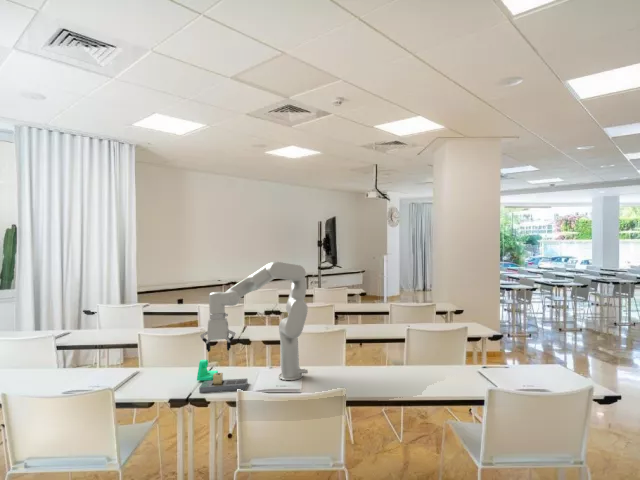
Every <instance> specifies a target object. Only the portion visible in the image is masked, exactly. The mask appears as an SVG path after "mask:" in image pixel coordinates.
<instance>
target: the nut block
mask: <svg viewBox="0 0 640 480" xmlns="http://www.w3.org/2000/svg"><path fill="white" fill-rule="evenodd" d="M223 380H224V375H223V372H218V373H214V375H213V385H223Z"/></svg>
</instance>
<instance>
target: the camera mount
mask: <svg viewBox="0 0 640 480" xmlns="http://www.w3.org/2000/svg"><path fill="white" fill-rule="evenodd" d="M208 360H209V359H200V360H199V363H198V369H197V376H196V381H212V380H213V375H214V373H219V371H218V370H208V366H209V361H208Z"/></svg>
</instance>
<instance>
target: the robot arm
mask: <svg viewBox="0 0 640 480" xmlns="http://www.w3.org/2000/svg"><path fill="white" fill-rule="evenodd" d="M306 273H307V272H306V270H305V267H303V266H302V265H300V264H294V263H289V262H288V263H287V262H281V261H276V260H275V261H271V262H269V263H267V264H265V265H264V266H262V267H261V268H259V269H258V270H256V271H255V272H253V273H252V274H250V275H248V276H247V277H245V278H244V279H243V280H241V281H239V282H238V283H236V284H235V285H233V286H232V287H230V288H229V289H227V290H226V291H225V292H223V291H212V292H210V293H209V294H208V305H209V306H208V307H209V319H208V321H207V331H205V332H203V333H202V334H201V335H200V338H201V339H202V341H203V342H204V343H205V346H206V347H205V349H206V350H207V353H210V352H211V343H210V341H215V340H217V341H218V340H225V341H227V342H226V350H227V352H229V351H230V349H231V345H232V344H231V342H232V341H233V339H234V338H235V337H236V332H235V331H233V330H230V329H229V322H228V318H226V317H228V315H229V314H228V313H226V311H225V310H226V309H225V308H226V307H225V306H230V307H232V306H233V307H234V306H236V305H238V304H239V303H240V301H241V298H243V297H244V296H246V295H247V294H249V293H252V292H255V291H257V290H259V289H261V288H263V287H264V286H265V285H267V284H269V283H270V282H272V281H273V280H275V279H280V280H285V281H290V285H291V286H290V289H289V290H290V291H289V294H288V299H287V301H286V306H285V310H286V312H287V313H288V316H287V317H284V318H282V319H281V320H280V322H279V325H278V332H279V333H278V334H279V339H280V340H279V341H280V342H279V343H280V365H281V367H280V368H281V369H280V370H281V372H280V374H279V375H278V379H279V380H281V379H282V380H281V381H286V380H291V381H296V380H300V379H302V377H303V374H308V373H309V372H308V371H309V370H308V369H305V368H301V366H300V358H299V356H300V355H299V353H300V352H299V337H300V336H301V335H302V333H303V331H304V328H305V324H306V320H307V316H308V311H309V310H308V305H307V303H306V302H305V298H306V294H307V287H308V286H307V280H306ZM206 335H207V336H206ZM229 335H231V336H229ZM205 336H206V337H207V338H206V337H205Z"/></svg>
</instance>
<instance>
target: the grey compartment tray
mask: <svg viewBox="0 0 640 480" xmlns="http://www.w3.org/2000/svg"><path fill="white" fill-rule="evenodd" d="M248 382H249V381H248V378H246V377H245V378H232V379H229V378H228V379H223V385H213V380H203V381H202V383H201V384H200V386H199V390H198V391H199V392H198V393H199V394H202V393H203V394H205V393H220V392H232V391H233V392H234V391H236V390H237V389H241V390H240V391H246V389H247V386H248Z"/></svg>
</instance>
